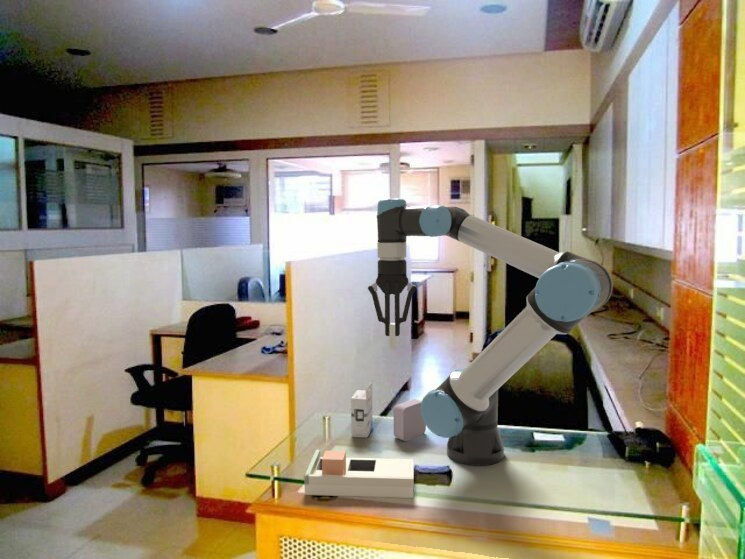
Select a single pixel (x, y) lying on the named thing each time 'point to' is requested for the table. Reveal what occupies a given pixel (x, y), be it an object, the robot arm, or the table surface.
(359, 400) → the ink box
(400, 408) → the electronic device
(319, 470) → the tray
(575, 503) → the table surface
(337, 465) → the terracotta block
